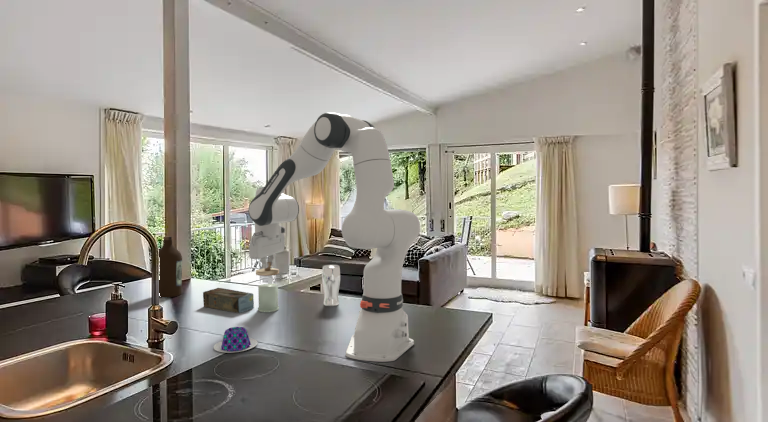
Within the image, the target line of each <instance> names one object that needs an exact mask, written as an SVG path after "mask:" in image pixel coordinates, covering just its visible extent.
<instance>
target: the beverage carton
mask: <svg viewBox="0 0 768 422" xmlns="http://www.w3.org/2000/svg"><path fill="white" fill-rule="evenodd" d="M202 296H203V297H202V298H203V301H202V302H203V308H208V309H209V308H211V309H215V310H219V311H225V312H231V313H237V314H238V313H239V314H240V313H245V312H246V311H249V310H253V309H254V308H255V307H254V305H255V304H254V303H255V301H254V300H255V299H254V293H252V292H246V291H241V290H240V291H239V290H235V289H229V288H223V287H217V288H213V289H208V290H205V291H203V292H202Z"/></svg>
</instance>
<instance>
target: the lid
mask: <svg viewBox="0 0 768 422" xmlns="http://www.w3.org/2000/svg"><path fill="white" fill-rule="evenodd" d="M267 263H268V268H266V269H263V268H260V269H256V270H255V275H256V276H260V277H261V276H262V277H263V276H264V277H267V276H268V277H269V276H270V277H271V276H276V275H280V269H279V268H272V267H271V262H268V261H267Z"/></svg>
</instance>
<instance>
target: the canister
mask: <svg viewBox="0 0 768 422" xmlns="http://www.w3.org/2000/svg"><path fill="white" fill-rule="evenodd" d="M257 288H258V291H257V292H258V293H257V294H258V295H257V296H258V307H257V311H258V312H260V313H274V312H277V311H279V310H280V306H279V286H278V284H277V283H262V284H259V285H258V287H257Z"/></svg>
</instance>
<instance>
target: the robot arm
mask: <svg viewBox="0 0 768 422" xmlns="http://www.w3.org/2000/svg"><path fill="white" fill-rule="evenodd" d="M336 150H338V151H341V152H344V153H351V156H352V162H353V163H352V164H353V170H354V179H355V186H356V194H355V201H354V204H353V207H352V209H351V211H350V212H349V213H348V214H347V216H345V218H344V219H343V222H342V225H341V234H342V235H341V236H342V239H343V240H344V242H345V244H347V246H348V247H350V248H354V249H360V250H370V249H371V250H372V249H376V251H375V253H374V255H373V257H372V259H371V260H370V261H368V262H367V263H366V265H365V266H364V268H363V294H362V295H361V296H362V297H361V301H360V303H359V306H360V308H361V309H360V310H359V312H358V317H357V320H356V324H355V328H354V334H352V335H351V338H350V341H349V344H348V346H347V348H346V350H345V356H346V358H350V359H353V360H359V361H365V362H383V363H384V362H386V363H387V362H394V361H396V360H397V359H398V358H400V357H401V356H402V355H403V354H404V353H405V352H406V351H408V350H409V349H410V348H411V347H413V346H414V345H415V340H414V339H413V338H410V337H409V336H410V335H409V318H408V317H409V316H408V314H407V312H406V311H404V309H403V306H404V298H403V293H402V277H403V276H402V275H403V274H402V273H403V267H404V266H403V265H404V262H405V258H406V256H407V253H408V251H409V249H410V247H411V246H412V245H413V243H414V242H415V241H416V240H417V239H418V237H419V235H420V232H421V223H420V220H419V217H418V216H417V214H415V213H414V212H413V211H411V210H410V211H409V210H406V209H400V208H399V209H397V208H396V209H395V208H394V209H385V199H386V197H387V196H389V194H391V192H392V191H393V190H394V186H395V181H394V174H393V169H392V162H391V156H390V153H389V149H388V145H387V141H386V139H385V137H384V134H383V132H382V131H381V130H380V129H378V128H376V127H375V126H374V125H373V124H371V123H370V122H369V121H367V120H363V119H361V118H357V117H354V116H352V115H349V114H341V113H337V112H324V113H321V115H319V116H318V117H317V118H316V121H315V122H313V124H312V125H311V126H310V128H309V129H308V130H307V132H306V133H305V134H304V136H303V138H302V139H301V141H300V142H299V145H298V146H297V148H296V149H295V150H294V151H293V153H292V154H291V155H290V156H288V158H287V159H285V160H284V161H282V162H281V164H280V165H279V166H278V167H277V168H276V170H275V171H274V172H273V174H272V175H271V177H270V178H269V180H268V181H267V182H266V184H265V185H264V186H262V187H259V188H258V189H256V191H255V196H254V197H253V198H252V200H251V202H250V203H249V206H248V215H249V217H250V219H251V220H252V221H253V222H254V233H253V234H252V236H251V238H250V241H249V247H248V257H249V259H251V260H252V259H253V260H260V263H261V269H266V268H268V263H267V262H271V268H272V267H273V266H274V261H275V257H276V255H277V254H278V253H279V254H280V253H282V252H284V251H285V245H286V244H285V243H286V242H285V241H286V238H285V237H286V236H285V233H286V227H284V226H282V225H281V224H282V223H290V222H293V221H295V220H296V219H297V218H298V217H299V213H300V204H299V202H298V201H297V199H296V198H295V197H294V196H290V195H288V194H285V193H284V191H286V189H287V188H288V187H289V186H290V185H291V184H293V183H295V182H297V181H300V180H303V179H306V178H307V179H308V178H311V177H314V176H316V175H318V174H320V173H322V171H323V170H324V169H325V168H326V166H327V165H328V163H329V162H330V160H331V158H332V157H333V155H334V152H335V151H336Z"/></svg>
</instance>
